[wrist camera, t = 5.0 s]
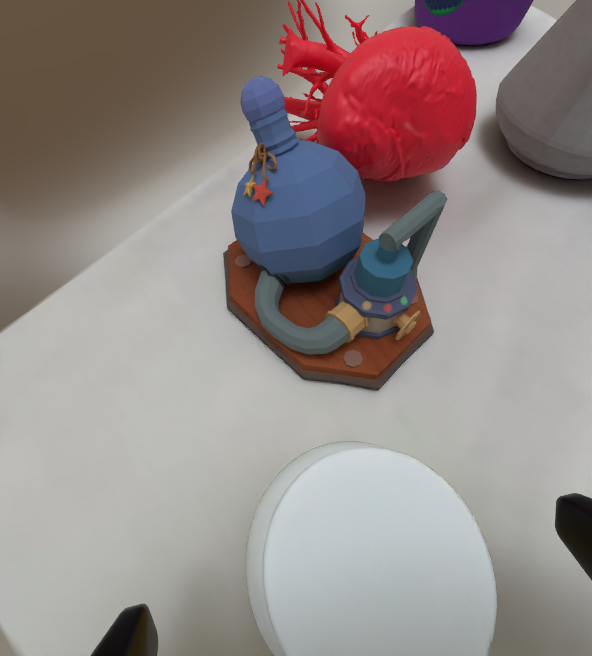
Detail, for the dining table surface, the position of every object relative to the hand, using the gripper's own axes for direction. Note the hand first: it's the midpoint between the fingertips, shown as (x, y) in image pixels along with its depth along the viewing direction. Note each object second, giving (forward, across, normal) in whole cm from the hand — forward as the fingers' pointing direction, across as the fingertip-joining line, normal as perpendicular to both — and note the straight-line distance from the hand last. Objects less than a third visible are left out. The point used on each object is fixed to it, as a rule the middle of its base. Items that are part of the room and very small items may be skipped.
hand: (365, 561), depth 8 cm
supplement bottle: (+6, 0, +6) cm, 8 cm away
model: (+14, -3, -3) cm, 15 cm away
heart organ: (+12, -8, -12) cm, 19 cm away
